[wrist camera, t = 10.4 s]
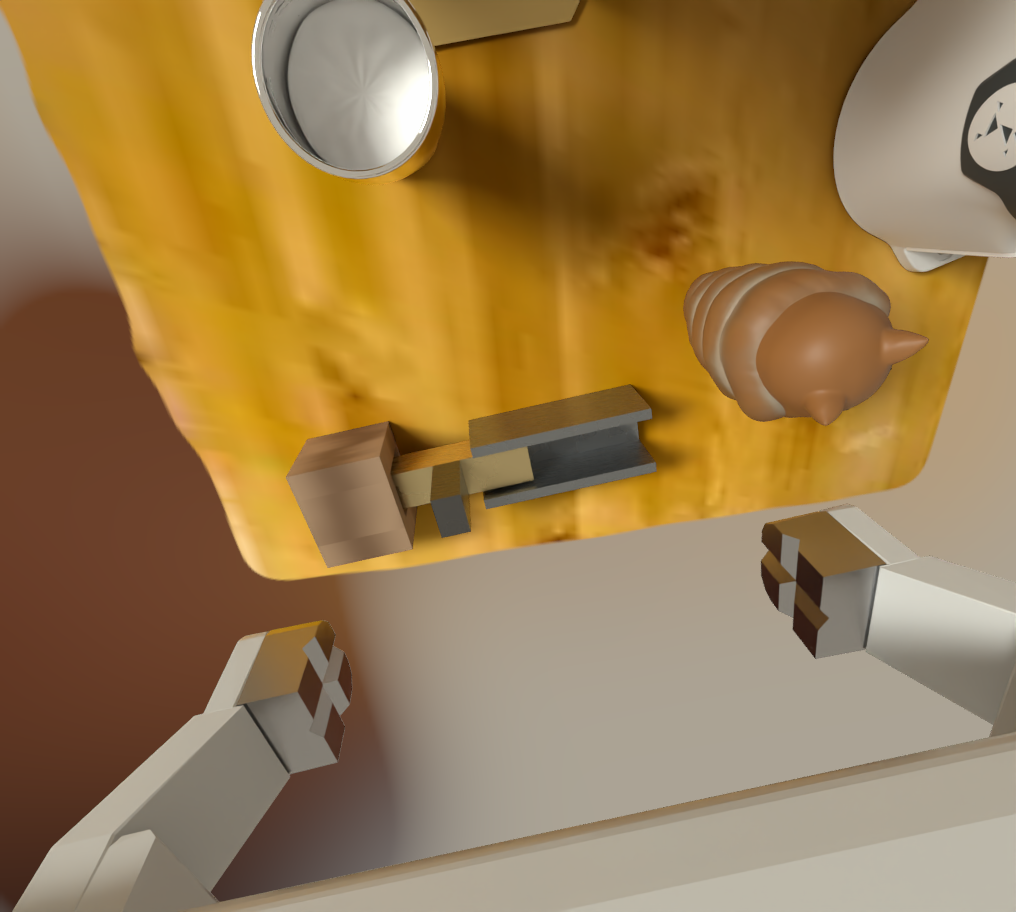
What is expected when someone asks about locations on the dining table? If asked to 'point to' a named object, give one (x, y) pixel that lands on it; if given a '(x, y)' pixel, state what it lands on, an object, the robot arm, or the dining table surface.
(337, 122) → the silver cup
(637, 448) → the grey track with slider
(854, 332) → the cat ice cream
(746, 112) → the dining table surface
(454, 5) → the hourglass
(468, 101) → the dining table surface
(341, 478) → the socket
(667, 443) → the dining table surface
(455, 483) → the tan grey t-shaped block
